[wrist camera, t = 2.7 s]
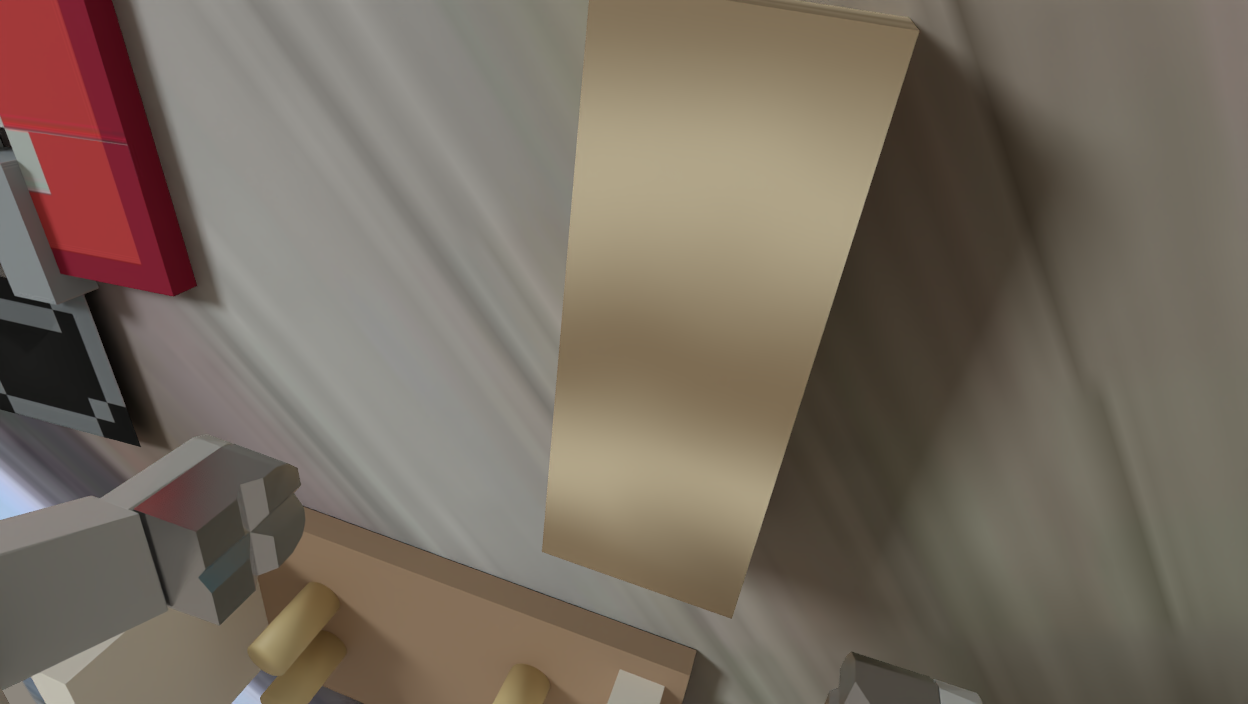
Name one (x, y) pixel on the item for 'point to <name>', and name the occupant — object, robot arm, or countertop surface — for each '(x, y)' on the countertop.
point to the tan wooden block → (704, 270)
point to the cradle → (378, 639)
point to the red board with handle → (74, 209)
